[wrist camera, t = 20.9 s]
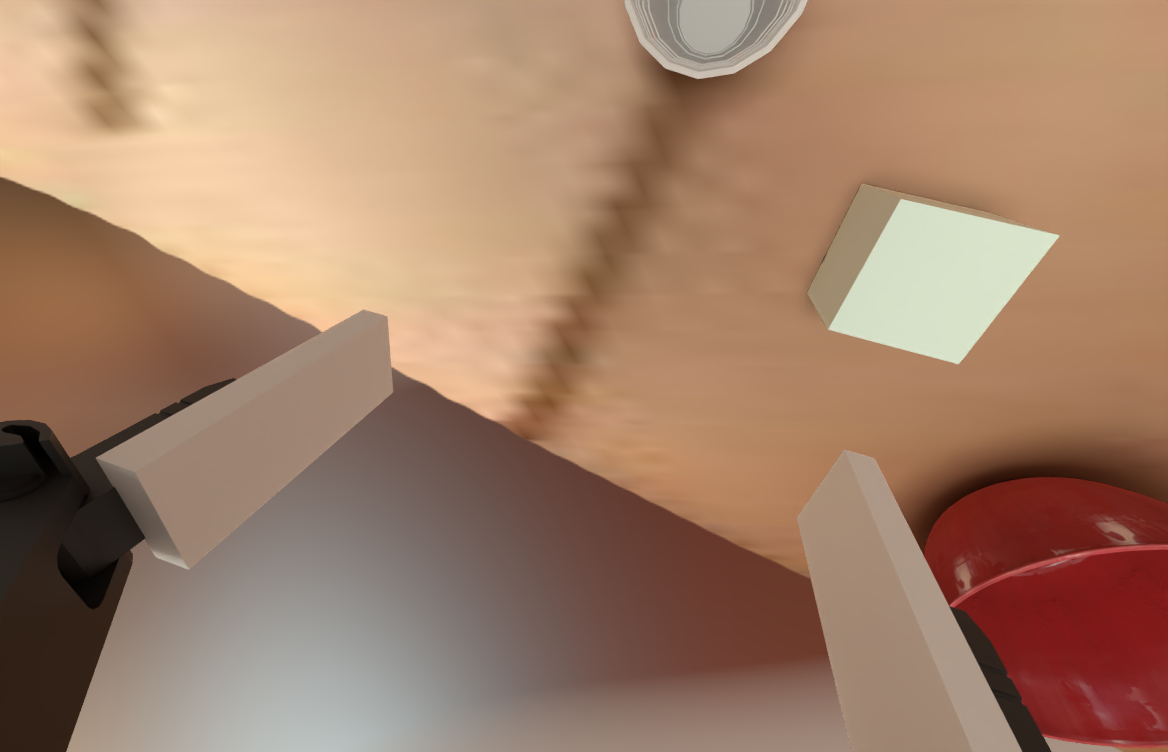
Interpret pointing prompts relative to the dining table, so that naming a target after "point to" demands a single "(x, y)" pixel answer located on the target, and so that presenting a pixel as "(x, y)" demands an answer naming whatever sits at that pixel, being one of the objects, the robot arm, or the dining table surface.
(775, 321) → the dining table surface
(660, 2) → the plastic cup
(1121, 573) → the mixing bowl
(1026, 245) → the pale green brick
